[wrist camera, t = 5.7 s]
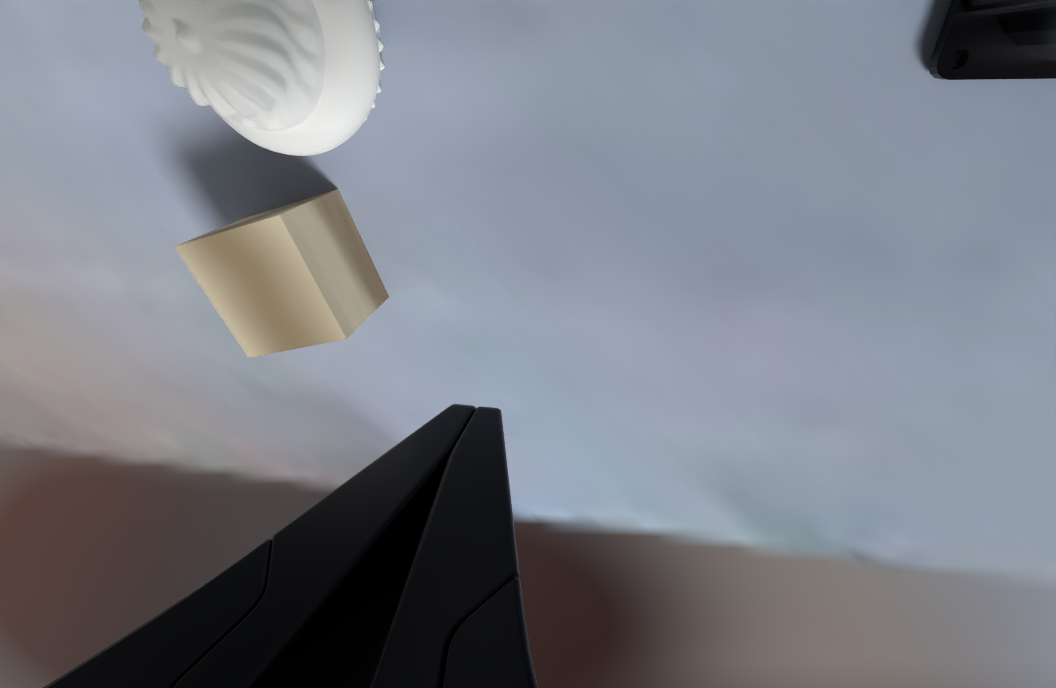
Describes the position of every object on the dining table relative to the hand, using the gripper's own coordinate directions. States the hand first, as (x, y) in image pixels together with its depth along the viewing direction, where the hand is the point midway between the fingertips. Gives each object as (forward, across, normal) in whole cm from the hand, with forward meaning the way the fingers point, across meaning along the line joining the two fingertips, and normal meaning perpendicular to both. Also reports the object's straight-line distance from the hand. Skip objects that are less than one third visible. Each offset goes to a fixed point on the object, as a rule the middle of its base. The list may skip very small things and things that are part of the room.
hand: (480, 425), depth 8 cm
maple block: (+12, +11, +2) cm, 17 cm away
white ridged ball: (+12, +8, -6) cm, 16 cm away
